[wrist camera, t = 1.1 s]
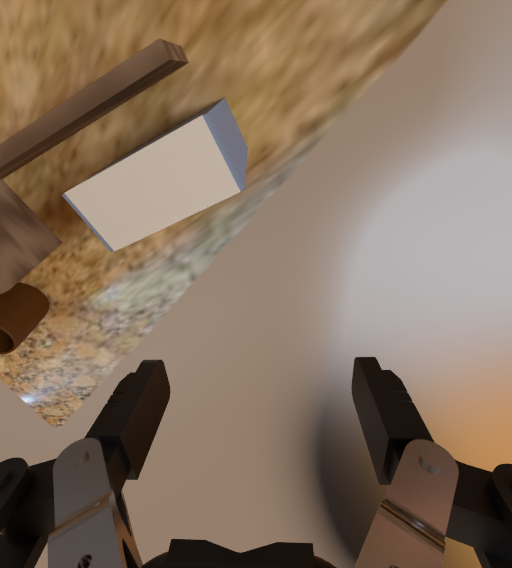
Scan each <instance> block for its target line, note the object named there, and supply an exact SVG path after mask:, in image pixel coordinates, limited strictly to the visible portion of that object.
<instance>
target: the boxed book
mask: <svg viewBox="0 0 512 568" xmlns="http://www.w3.org/2000/svg"><path fill="white" fill-rule="evenodd" d="M247 150H248V148H247V146H246V144H245V141H244V139H243V137H242V135H241V132H240V130H239V128H238V126H237V123H236V121H235V119H234V117H233V114H232V112H231V110H230V108H229V105H228V103H227V101H226V99H225V98H223V99H221V100H220V101H218V102H216V103H214V104H213V105H211V106H209V107H207V108H206V109H204V110H202V111H200V112H199V113H197V114H195V115H193V116H191V117H190V118H188V119H186V120H184V121H183V122H181V123H179V124H177V125H176V126H174V127H172V128H170V129H169V130H167V131H165V132H163V133H162V134H160V135H158V136H156V137H155V138H153V139H151V140H149V141H148V142H146V143H144V144H142V145H140V146H139V147H137V148H135V149H133V150H132V151H130V152H128V153H127V154H125V155H124V156H122V157H120V158H119V159H117V160H116V161H114V162H113V163H111V164H109V165H108V166H106V167H105V168H103V169H102V170H100V171H99V172H97V173H95V174H94V175H92V176H91V177H89V178H88V179H86V180H84V181H83V182H81V183H80V184H78V185H77V186H75V187H73V188H72V189H70V190H68V191H66V192H65V193H64V194H63V195H62V196H63V197H64V198H65V200H66V201H67V202H68V203H69V204H70V205H71V207H72V208H73V209H74V210H75V211H76V212H77V213H78V215H79V216H80V217H81V218H82V219H83V220H84V221H85V223H86V224H87V225H88V226H89V227H90V228H91V229H92V231H93V232H94V233H95V234H96V235H97V236H98V238H99V239H100V240H101V241H102V242H103V243H104V244H105V246H106V247H107V248H108V249H109V250H110V251H111V252H112V251H117V250H119V249H121V248H123V247H125V246H127V245H129V244H131V243H133V242H136V241H138V240H140V239H142V238H144V237H146V236H148V235H150V234H153V233H155V232H157V231H159V230H161V229H163V228H165V227H167V226H169V225H172V224H174V223H176V222H178V221H180V220H182V219H184V218H186V217H189V216H191V215H193V214H195V213H197V212H199V211H201V210H203V209H205V208H208V207H210V206H212V205H214V204H216V203H218V202H220V201H222V200H225V199H227V198H229V197H231V196H233V195H235V194H237V193H239V192H240V191H241V190H243V189H244V188H245V175H246V162H247Z"/></svg>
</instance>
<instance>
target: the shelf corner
mask: <svg viewBox="0 0 512 568" xmlns="http://www.w3.org/2000/svg"><path fill="white" fill-rule="evenodd" d="M187 63H189V61H188V59H187V57H186V55H185V53H184V51H183V49H182V47H181V46H179V45H176V44H173V43H171V42H168V41H165V40H162V39H158V40H156V41H155V42H153V43H152V44H150V45H149V46H147V47H146V48H144V49H143V50H141V51H140V52H138V53H137V54H135V55H134V56H132V57H131V58H129V59H128V60H126V61H125V62H123V63H122V64H120V65H119V66H117V67H116V68H114V69H113V70H111V71H110V72H108V73H107V74H105V75H104V76H102V77H101V78H99V79H98V80H96V81H95V82H93V83H92V84H90V85H89V86H87V87H86V88H84V89H83V90H81V91H80V92H78V93H77V94H75V95H74V96H72V97H71V98H69V99H68V100H66V101H65V102H63V103H62V104H60V105H59V106H57V107H56V108H54V109H53V110H51V111H50V112H48V113H47V114H45V115H44V116H42V117H41V118H39V119H38V120H36V121H35V122H33V123H32V124H30V125H29V126H27V127H26V128H24V129H23V130H21V131H20V132H18V133H17V134H15V135H14V136H12V137H11V138H9V139H8V140H6V141H5V142H3V143H2V144H0V294H2V293H4V292H6V291H8V290H10V289H11V288H12V287H13V286H14V285H16V284H17V283H18V282H19V281H20V280H21V279H22V278H23V277H25V276H26V275H27V274H28V273H29V272H30V271H31V270H32V269H34V268H35V267H36V266H37V265H38V264H39V263H40V262H41V261H42V260H44V259H45V258H46V257H47V256H48V255H49V254H50V253H51V252H53V251H54V250H55V249H56V248H57V247H58V246H59V245H60V244H62V242H61V241H60V240H59V238H58V237H57V236H56V235H55V234H54V233H53V232H52V231H51V230H50V229H49V228H48V227H47V226H46V225H45V224H44V223H43V222H42V221H41V220H40V219H39V218H38V217H37V216H36V215H35V214H34V213H33V211H32V210H31V209H30V208H29V207H28V206H27V205H26V204H25V203H24V202H23V201H22V200H21V199H20V198H19V197H18V196H17V195H16V194H15V193H14V192H13V191H12V190H11V189H10V188H9V187H8V186H7V184H6V183H5V182H4V181H3V180H2V179H3V178H4V177H6V176H8V175H9V174H11V173H12V172H14V171H16V170H17V169H19V168H20V167H22V166H24V165H25V164H27V163H28V162H30V161H32V160H33V159H35V158H36V157H38V156H40V155H41V154H43V153H44V152H46V151H48V150H49V149H51V148H52V147H54V146H56V145H57V144H59V143H60V142H62V141H64V140H65V139H67V138H69V137H70V136H72V135H73V134H75V133H77V132H78V131H80V130H81V129H83V128H85V127H86V126H88V125H89V124H91V123H93V122H94V121H96V120H97V119H99V118H101V117H102V116H104V115H105V114H107V113H109V112H110V111H112V110H113V109H115V108H117V107H118V106H120V105H121V104H123V103H125V102H126V101H128V100H130V99H131V98H133V97H134V96H136V95H138V94H139V93H141V92H142V91H144V90H146V89H147V88H149V87H150V86H152V85H154V84H155V83H157V82H158V81H160V80H162V79H163V78H165V77H166V76H168V75H170V74H171V73H173V72H174V71H176V70H178V69H179V68H181V67H182V66H184V65H186V64H187Z"/></svg>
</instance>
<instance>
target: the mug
mask: <svg viewBox="0 0 512 568" xmlns="http://www.w3.org/2000/svg"><path fill="white" fill-rule="evenodd" d="M48 310H49V302H48V299H47V298H46V296H45V295H44V294H43V293H42V292H40V291H39V290H38V289H36V288H34V287H32V286H30V285H27V284H22V283H17V284H16V285H14V286H13V287H12V288H11V289H10V290H8V291H6V292H4V293H2V294H0V354H7V353H10V352H12V351H14V350H15V349H16V348H17V347H18V346H19V345H20V344H21V343H22V342H23V341H24V340H25V339H26V337H27V336H28V335H29V334H30V333H31V332H32V330H33V329H34V328H35V327H36V326H37V324H38V323H39V322H40V321H41V320H42V318H43V317H44V316H45V315H46V314H47V312H48Z"/></svg>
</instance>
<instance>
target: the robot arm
mask: <svg viewBox="0 0 512 568" xmlns="http://www.w3.org/2000/svg"><path fill="white" fill-rule="evenodd" d="M352 396H353V401H354V404H355V408H356V411H357V414H358V417H359V421H360V424H361V427H362V430H363V433H364V437H365V440H366V443H367V446H368V450H369V453H370V456H371V459H372V463H373V466H374V469H375V472H376V476H377V479H378V482H379V484H380V485H390V487H389V490H388V492H387V495H386V497H385V499H384V501H382V503H381V504H380V507H379V509H378V511H377V514H376V516H375V519H374V521H373V523H372V526H371V528H370V531H369V533H368V536H367V538H366V541H365V543H364V546H363V548H362V550H361V553H360V555H359V558H358V560H357V562H356V565H355V567H354V568H441V565H442V561H443V556H444V551H445V542H444V540H445V537H448V538H451V539H453V540H456V541H458V542H461V543H464V544H467V545H469V546H472V547H473V548H474V550H475V552H476V555H477V557H478V559H479V561H480V564H481V566H482V568H512V464H501V465H498V466H497V467H496V468H495V469H494V471H493V472H490V471H486V470H483V469H480V468H476V467H473V466H469V465H466V464H464V463H461V462H459V461H457V460H455V459H454V458H453V457H452V456H451V455H450V453H449V452H448V451H446V450H445V449H444V448H442V447H441V446H440V445H438V444H436V443H435V442H434V440H433V439H432V437H431V435H430V433H429V431H428V429H427V428H426V426H425V424H424V422H423V420H422V418H421V416H420V414H419V412H418V411H417V409H416V407H415V405H414V403H412V399H411V397H410V396H409V394H408V393H407V390H406V388H405V386H404V384H403V382H402V381H401V379H400V378H399V377H397V376H396V375H395V374H394V373H393V372H392V371H391V370H382V369H381V367H380V365H379V363H378V361H377V359H376V358H375V357H356V358H355V360H354V369H353V378H352ZM169 398H170V385H169V381H168V377H167V373H166V370H165V366H164V363H163V361H162V360H143V361H142V362H141V364H140V365H139V367H138V369H137V371H136V372H135V373H130V374H128V375H127V376H126V377H125V378H124V379H122V380H121V381H120V382H119V384H118V386H117V387H116V389H115V390H114V392H113V395H111V397H110V398H109V400H108V403H107V404H106V405H105V406H104V408H103V409H102V411H101V413H100V414H99V416H98V417H97V419H96V421H95V422H94V424H93V425H92V427H91V428H90V430H89V432H88V433H87V435H86V436H85V438H84V439H81V440H78V441H76V442H74V443H72V444H71V445H69V446H68V447H67V448H66V449H64V450H63V451H62V452H61V453H60V455H59V456H58V457H57V458H56V459H53V460H50V461H47V462H43V463H40V464H36V465H33V466H28V464H27V463H26V461H25V460H24V459H22V458H11V459H7V460H5V461H2V462H0V533H1V534H0V568H34V567H35V565H36V563H37V561H38V559H39V557H40V555H41V553H42V551H43V549H44V547H45V546H46V543H47V542H48V568H336V567H335V566H333V565H332V564H331V563H329V562H327V561H325V560H324V559H322V558H319V557H317V556H314V552H313V544H312V543H286V542H285V543H284V542H276V543H273V544H269V545H266V546H263V547H260V548H256V549H253V550H250V551H247V552H242V553H238V552H235V551H232V550H230V549H227V548H224V547H222V546H219V545H217V544H214V543H212V542H209V541H206V540H186V539H171V543H170V547H169V551H168V552H165V553H163V554H161V555H159V556H156V557H155V558H153V559H151V560H150V561H148V562H147V563H145V564H144V565H143V564H142V561H141V558H140V555H139V552H138V549H137V546H136V543H135V539H134V535H133V531H132V527H131V523H130V519H129V515H128V511H127V507H126V503H125V499H124V495H123V492H122V488H123V486H124V483H125V481H126V480H127V479H128V480H130V479H131V480H137V479H138V477H139V474H140V472H141V470H142V467H143V465H144V462H145V459H146V457H147V455H148V452H149V450H150V447H151V444H152V442H153V439H154V437H155V434H156V432H157V429H158V427H159V424H160V422H161V419H162V417H163V414H164V411H165V409H166V407H167V404H168V401H169Z"/></svg>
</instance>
